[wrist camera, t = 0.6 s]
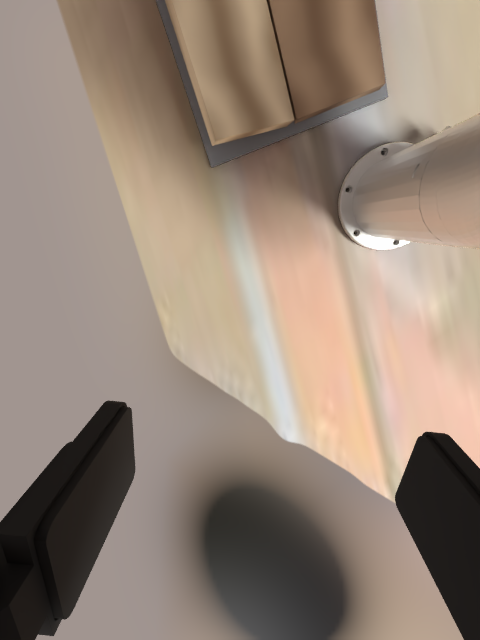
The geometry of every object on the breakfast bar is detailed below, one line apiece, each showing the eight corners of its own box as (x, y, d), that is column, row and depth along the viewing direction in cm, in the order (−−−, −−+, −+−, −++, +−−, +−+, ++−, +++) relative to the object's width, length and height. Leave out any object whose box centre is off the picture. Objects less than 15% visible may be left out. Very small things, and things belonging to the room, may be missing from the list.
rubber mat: (348, -175, 25) (350, -180, 25) (386, 98, 32) (388, 96, 32) (136, -59, 28) (134, -63, 28) (211, 167, 35) (211, 167, 35)
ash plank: (231, -103, 27) (237, -124, 25) (287, 126, 33) (294, 119, 31) (130, -105, 24) (131, -129, 22) (212, 145, 30) (216, 139, 28)
